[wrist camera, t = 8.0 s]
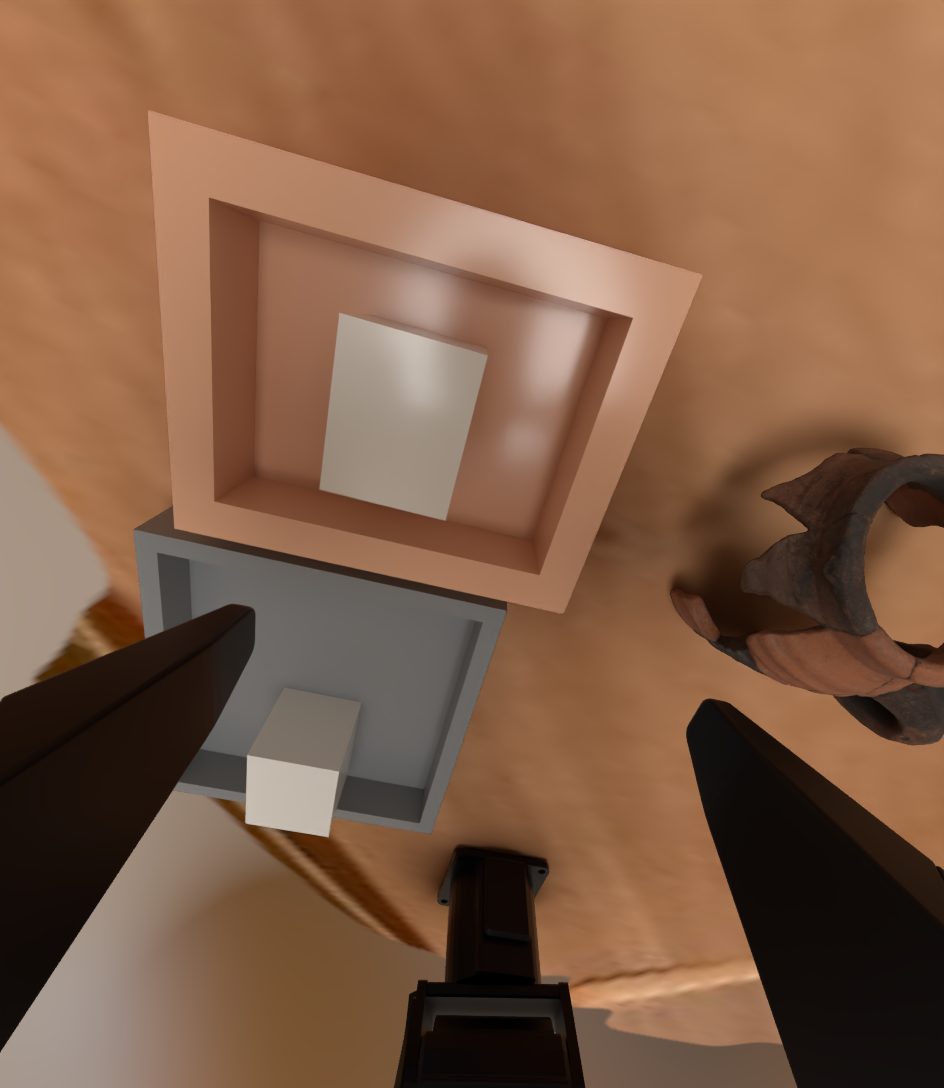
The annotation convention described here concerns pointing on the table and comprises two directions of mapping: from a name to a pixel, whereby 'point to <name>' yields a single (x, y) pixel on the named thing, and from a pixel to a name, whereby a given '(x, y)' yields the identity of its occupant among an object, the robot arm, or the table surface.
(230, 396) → the terracotta dish
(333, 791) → the off-white rectangular prism
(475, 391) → the cream rectangular block
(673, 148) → the table surface
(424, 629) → the parts tray
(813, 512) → the brown curved piece
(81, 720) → the robot arm
